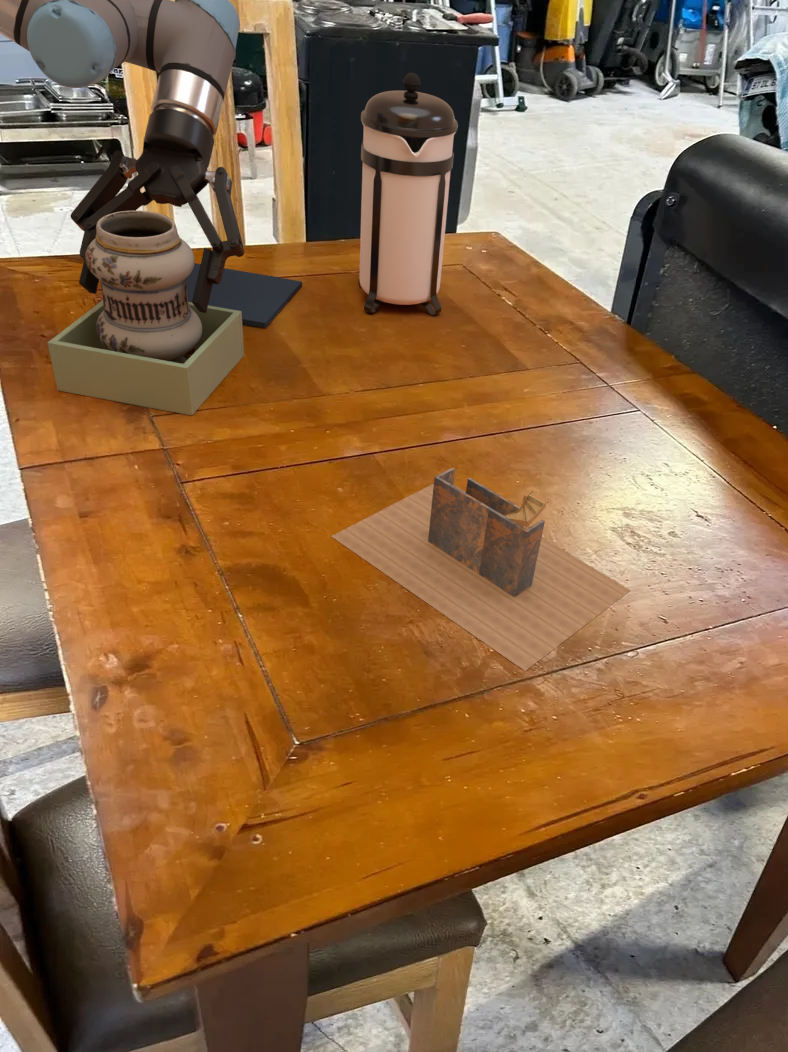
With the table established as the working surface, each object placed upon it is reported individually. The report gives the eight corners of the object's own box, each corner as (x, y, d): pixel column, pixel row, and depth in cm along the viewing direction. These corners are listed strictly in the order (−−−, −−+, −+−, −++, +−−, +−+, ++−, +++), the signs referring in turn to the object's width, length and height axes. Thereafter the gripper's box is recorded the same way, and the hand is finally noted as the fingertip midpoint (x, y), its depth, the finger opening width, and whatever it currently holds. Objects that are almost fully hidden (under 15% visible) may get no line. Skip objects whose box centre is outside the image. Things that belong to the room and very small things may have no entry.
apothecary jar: (121, 403, 103) (96, 247, 91) (91, 359, 110) (64, 209, 98) (221, 385, 108) (209, 235, 97) (185, 344, 116) (170, 200, 104)
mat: (127, 304, 123) (126, 298, 123) (176, 264, 135) (175, 259, 135) (265, 328, 121) (265, 322, 121) (302, 286, 134) (302, 281, 133)
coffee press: (472, 303, 135) (498, 79, 115) (401, 330, 125) (416, 91, 106) (390, 267, 143) (401, 52, 123) (316, 290, 133) (316, 61, 113)
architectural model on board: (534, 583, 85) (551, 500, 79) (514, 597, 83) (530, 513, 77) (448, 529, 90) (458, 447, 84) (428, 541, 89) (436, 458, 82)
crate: (57, 390, 104) (46, 342, 100) (123, 333, 116) (116, 288, 112) (192, 415, 102) (187, 368, 98) (244, 355, 115) (241, 311, 111)
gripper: (293, 160, 107) (255, 328, 105) (97, 129, 109) (57, 294, 107) (277, 121, 99) (236, 302, 98) (67, 89, 101) (24, 265, 100)
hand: (142, 298), depth 102 cm, fingers open, 13 cm apart
